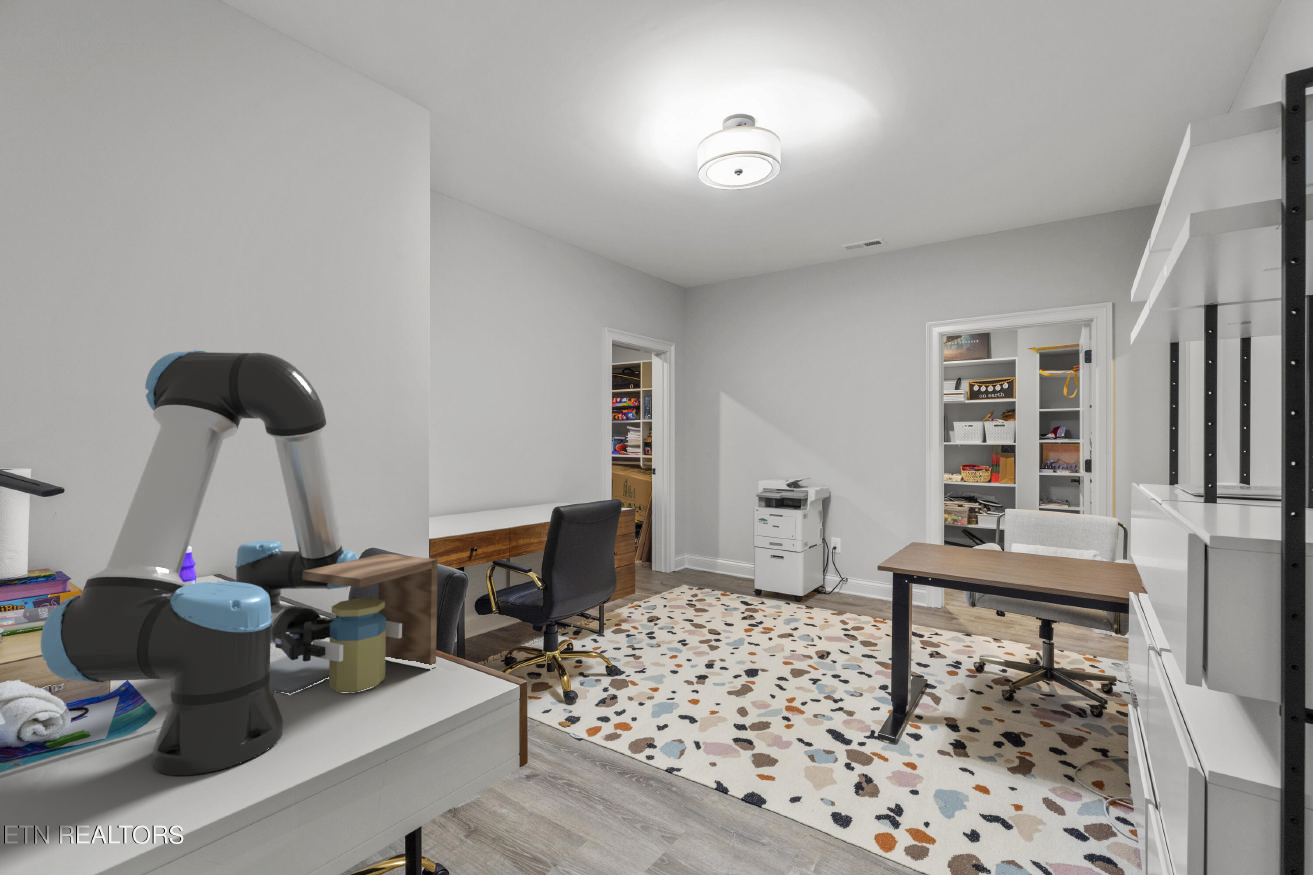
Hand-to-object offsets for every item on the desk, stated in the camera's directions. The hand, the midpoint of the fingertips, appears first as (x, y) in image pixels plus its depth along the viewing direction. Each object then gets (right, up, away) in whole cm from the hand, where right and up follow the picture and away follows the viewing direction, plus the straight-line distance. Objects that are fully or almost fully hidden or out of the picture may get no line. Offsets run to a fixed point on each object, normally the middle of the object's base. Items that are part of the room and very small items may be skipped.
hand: (372, 641), depth 106 cm
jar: (-3, -9, +1) cm, 9 cm away
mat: (-17, -8, +7) cm, 20 cm away
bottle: (-68, -8, +41) cm, 80 cm away
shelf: (-2, -9, +4) cm, 10 cm away
